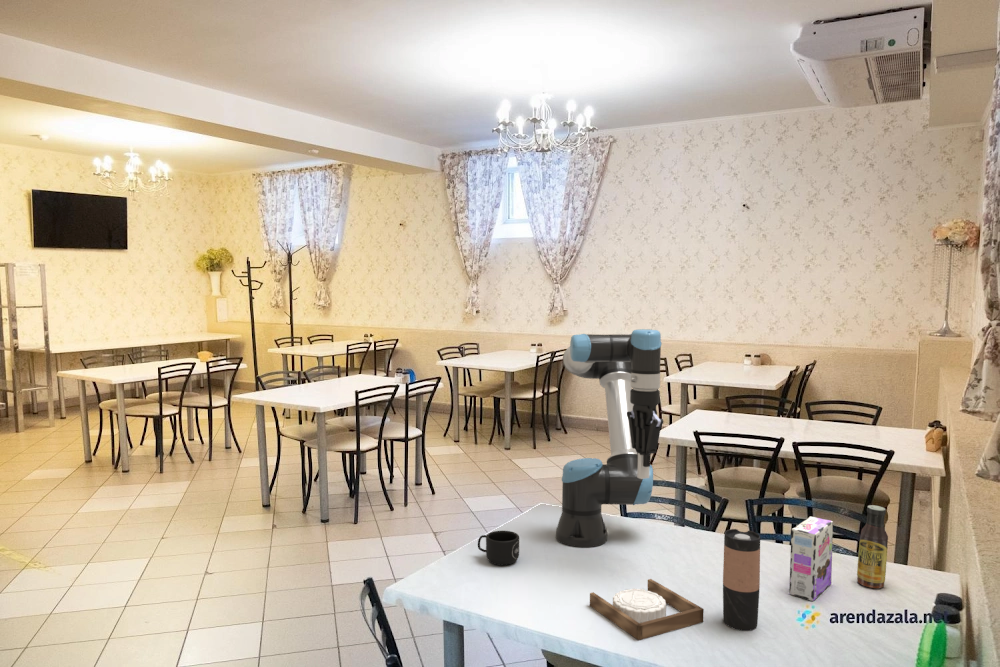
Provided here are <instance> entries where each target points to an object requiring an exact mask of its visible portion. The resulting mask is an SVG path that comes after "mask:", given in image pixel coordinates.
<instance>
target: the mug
mask: <svg viewBox="0 0 1000 667" xmlns="http://www.w3.org/2000/svg"><path fill="white" fill-rule="evenodd" d="M482 538H485V549H484V548H482V546H481V540H482ZM477 548H478V551H481V552H483V553H485V555H486V558H487V559H486V560H488V561H489V563H491V564H494V565H496V566H509V565H511V564H514V563H516V562H517V560H518V558H519V556H520V536H519V534H518V533H516V532H515V531H510V530H494V531H491V532H489V533H487V535H486V534H483V535H480V536H479V537H478V540H477Z"/></svg>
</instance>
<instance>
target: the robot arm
mask: <svg viewBox="0 0 1000 667" xmlns="http://www.w3.org/2000/svg"><path fill="white" fill-rule="evenodd" d="M661 336H662V333H661V331H659V330H658V329H645V328H642V329H634V330H632V332H631V333H630V334H628V333H627V334H626V333H625V334H622V333H621V334H620V333H619V334H614V333H613V334H592V333H591V334H589V333H588V334H587V333H581V334H573V335H572V336H571V338H570V342H569V343H570V344H569V347H567V349H565V351H564V353H563V355H562V363H563V366H564V368H565V370H566V371H567V372H568V373H570V374H572V375H574V376H576V377H579V378H582V379H588V380H589V379H591V380H592V379H594V380H596V379H597V380H599V385H600V386H601V387H602V388H603V389H604V393H605V403H606V404H605V405H606V414H607V426H608V435H609V447H610V448H609V449H610V456H608V457H607V459H606V464H605V463H603V462H602V460H601V459H599V458H595V457H594V458H592V457H586V458H585V457H583V458H579V459H578V458H577V459H574V460H569V461H568V462H567V463H565V464H564V465H563V467H562V474H561V476H562V477H561V482H562V488H561V489H562V493H561V494H562V497H561V499H562V500H561V515H560V518H559V520H558V523H557V527H556V530H555V538H556V540H557V541H558V542H559V543H561V544H563V545H566V546H570V547H577V548H591V547H592V548H595V547H597V546H601V545H604V544H605V543H607V541H608V531H607V528H606V524H605V521H604V518H603V514H602V505H621V506H622V505H625V506H626V505H627V506H628V505H633V506H636V505H646V504H647V503H648V502H650V500H651V497H652V493H653V486H654V469H653V465H651V457H652V456H651V455H652V454H656V453H657V450H658V445H659V439H660V433H661V429H662V426H663V424H664V419H663V418H659V416H658V411H657V406H658V405H659V404H660V403H661V402H660V399H661V398H660V397H661V391H660V388H661V355H662V354H661V350H662V348H661V347H662V339H661V338H662V337H661Z"/></svg>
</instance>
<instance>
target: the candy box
mask: <svg viewBox="0 0 1000 667" xmlns="http://www.w3.org/2000/svg"><path fill="white" fill-rule="evenodd" d="M833 527H834V521H832V520H829V519H824V518H821V517H816V516H809V517H807V519H804V520H803V521H802V522H800V523H799V524H798V525H796V526H795V527H793V528H791V533H790V535H791V536H790V561H789V562H790V563H789V565H790V567H789V589H788V590H789V593H788V594H789V595H791V596H794V597H798V598H802V599H804V600H807V601H811V602H814V601H815V600H816V599H817V598H818V597H819V596H820V595H821V594H823V592H824V591H825V590H827V589H828V588H829V586H830V585H832V569H833V568H832V567H833V566H832V564H833V536H834V534H833V533H834V530H833V529H834V528H833Z"/></svg>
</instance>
